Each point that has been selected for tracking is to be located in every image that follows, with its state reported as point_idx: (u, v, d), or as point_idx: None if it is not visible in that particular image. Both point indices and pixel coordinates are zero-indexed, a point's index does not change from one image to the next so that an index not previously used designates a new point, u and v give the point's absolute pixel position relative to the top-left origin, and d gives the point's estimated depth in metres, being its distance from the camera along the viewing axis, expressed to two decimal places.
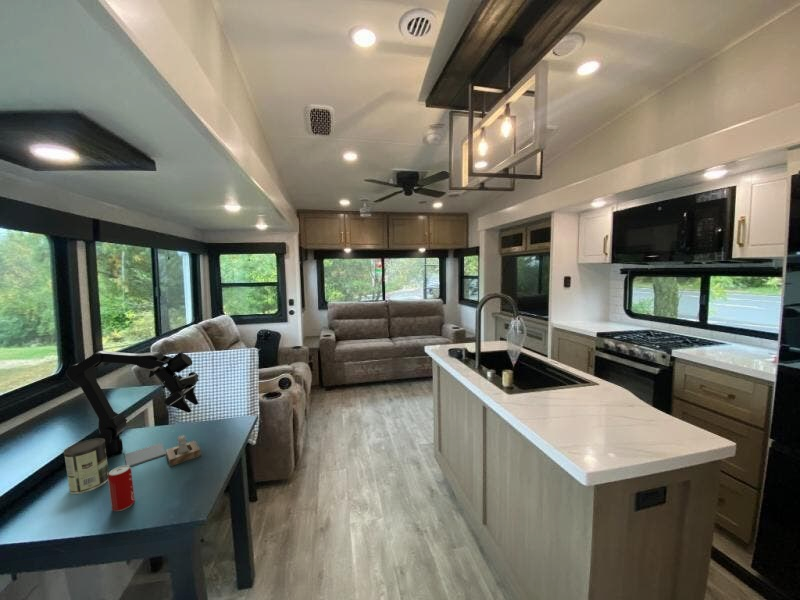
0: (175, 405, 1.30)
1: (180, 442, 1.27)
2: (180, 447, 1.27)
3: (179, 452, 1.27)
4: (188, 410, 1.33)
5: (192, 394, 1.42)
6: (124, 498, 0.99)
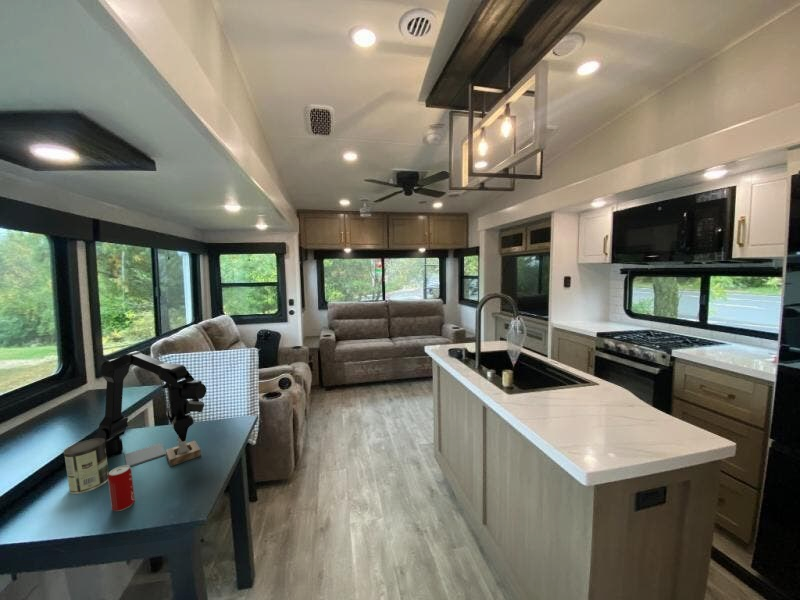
0: (177, 430, 1.22)
1: (180, 442, 1.27)
2: (180, 447, 1.27)
3: (179, 452, 1.27)
4: (184, 438, 1.24)
5: None
6: (124, 498, 0.99)
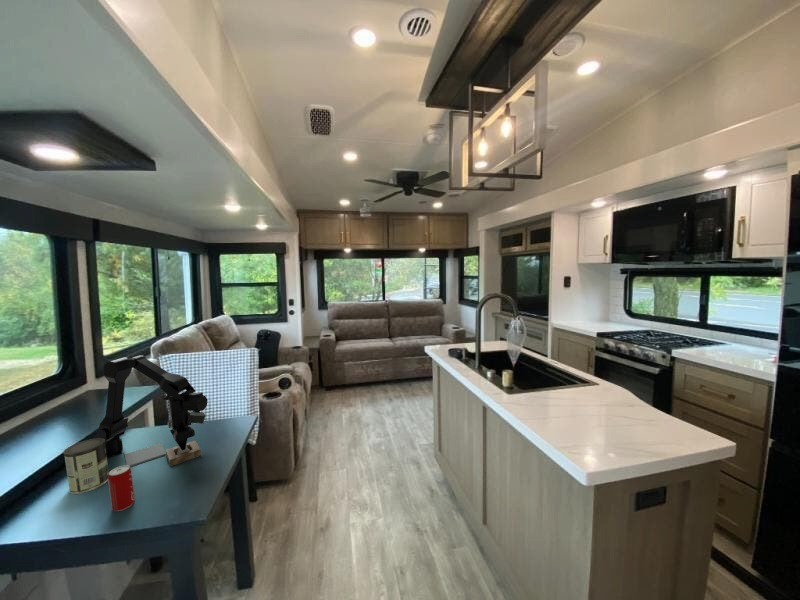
0: None
1: None
2: None
3: (179, 452, 1.27)
4: (183, 447, 1.27)
5: None
6: (124, 498, 0.99)
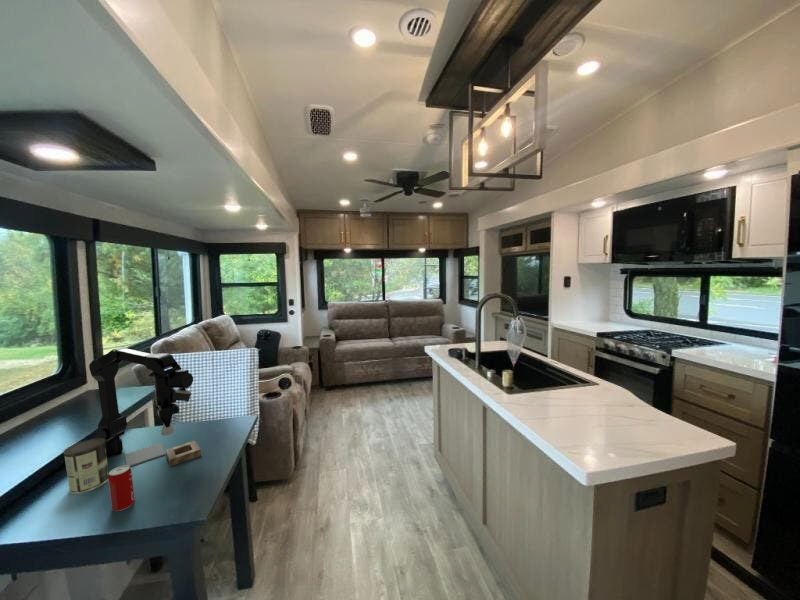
0: None
1: None
2: None
3: (163, 429, 1.27)
4: (168, 424, 1.27)
5: None
6: (124, 498, 0.99)
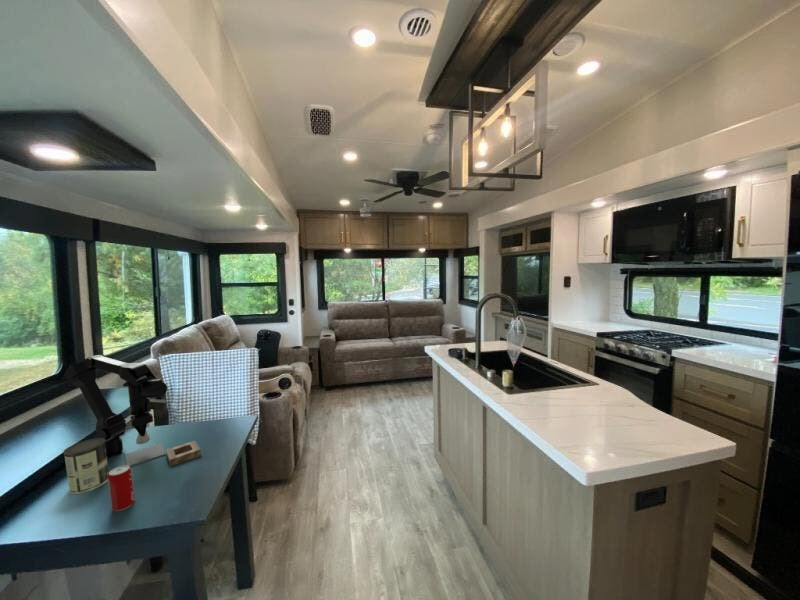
0: None
1: None
2: None
3: (138, 438, 1.28)
4: (143, 433, 1.28)
5: None
6: (124, 498, 0.99)
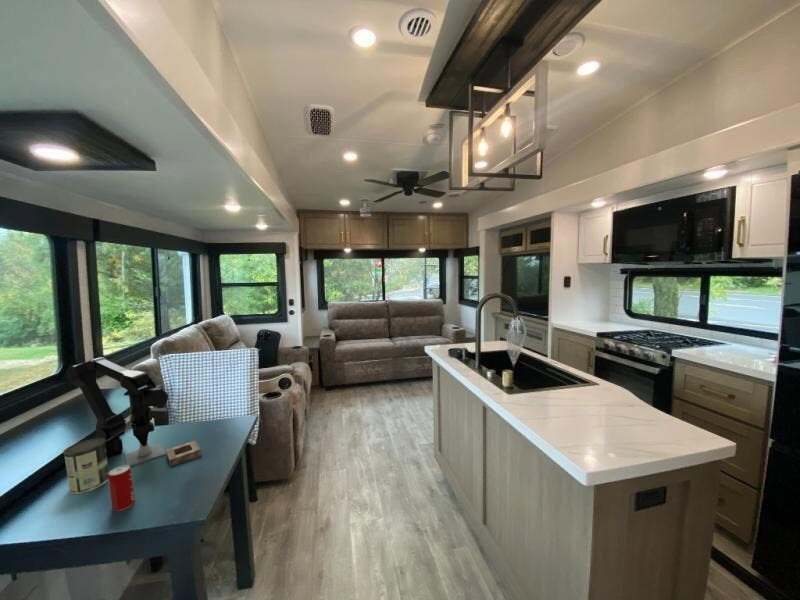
0: (137, 435, 1.25)
1: None
2: (141, 445, 1.29)
3: (140, 450, 1.28)
4: (144, 443, 1.27)
5: None
6: (124, 498, 0.99)
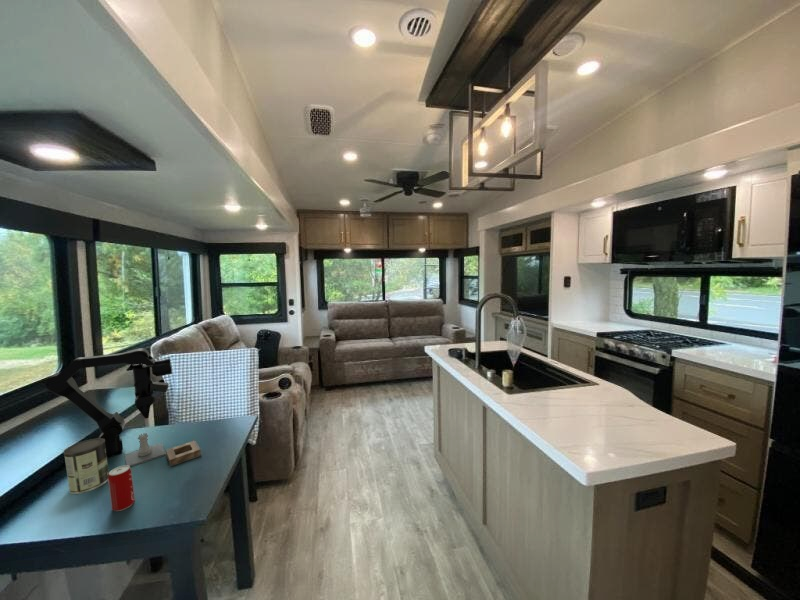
0: (140, 407, 1.31)
1: (141, 440, 1.29)
2: (141, 445, 1.29)
3: (140, 450, 1.28)
4: (146, 416, 1.34)
5: None
6: (124, 498, 0.99)
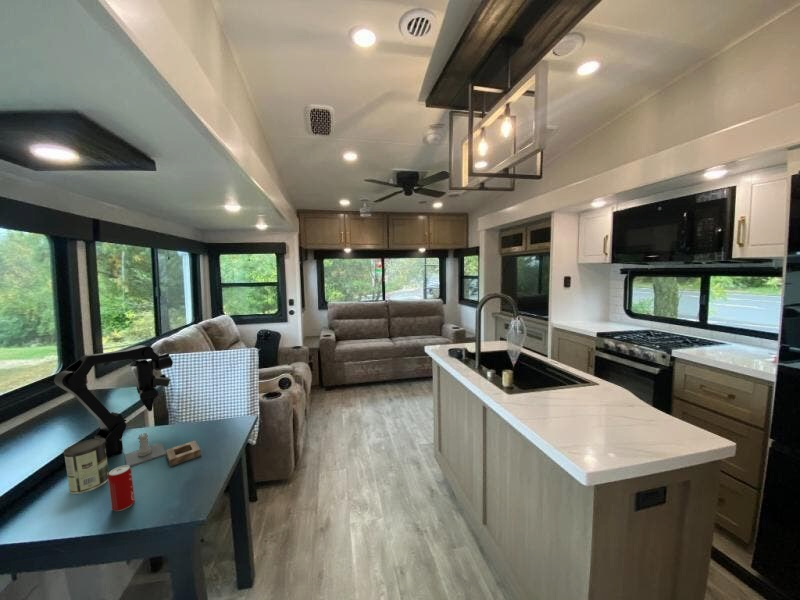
0: (144, 400, 1.39)
1: (141, 440, 1.29)
2: (141, 445, 1.29)
3: (140, 450, 1.28)
4: (150, 408, 1.41)
5: None
6: (124, 498, 0.99)
